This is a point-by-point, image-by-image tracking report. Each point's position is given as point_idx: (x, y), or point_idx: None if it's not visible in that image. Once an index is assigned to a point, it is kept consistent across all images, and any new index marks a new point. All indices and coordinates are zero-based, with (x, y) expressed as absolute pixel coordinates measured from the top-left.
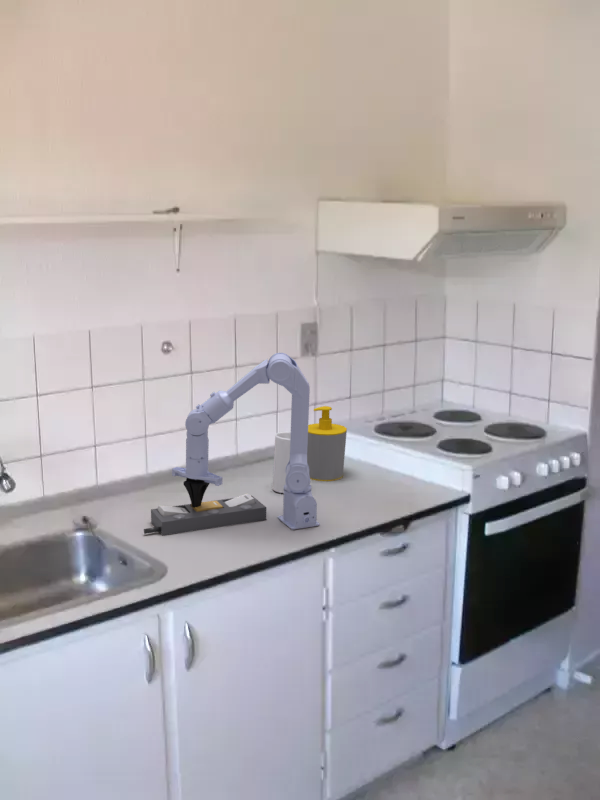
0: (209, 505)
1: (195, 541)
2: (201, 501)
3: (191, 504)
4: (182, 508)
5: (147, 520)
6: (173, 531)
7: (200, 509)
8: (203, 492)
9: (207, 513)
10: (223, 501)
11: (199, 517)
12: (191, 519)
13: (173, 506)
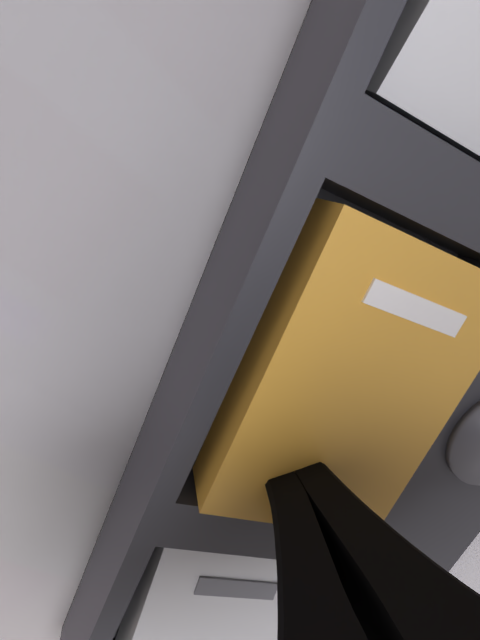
0: (395, 393)
1: (471, 551)
2: (349, 494)
3: (210, 507)
4: (185, 564)
5: (11, 633)
6: None
7: (386, 505)
8: (462, 611)
9: (473, 484)
10: (364, 67)
11: (455, 552)
12: None
13: (105, 624)
